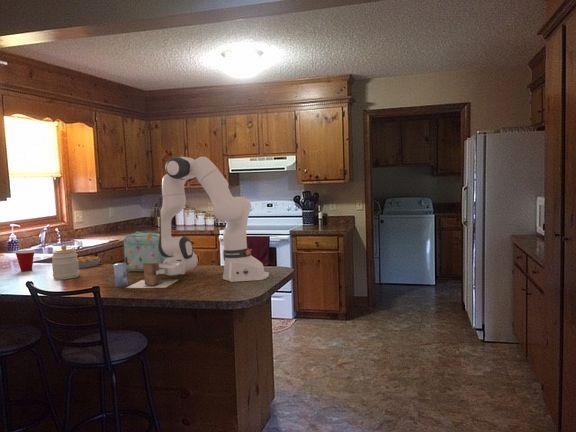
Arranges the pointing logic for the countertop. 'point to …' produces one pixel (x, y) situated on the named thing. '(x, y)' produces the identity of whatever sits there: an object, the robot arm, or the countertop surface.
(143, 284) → the letter board
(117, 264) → the canister
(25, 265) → the plastic cup
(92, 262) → the pie
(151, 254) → the lunch box
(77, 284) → the countertop surface
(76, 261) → the jar
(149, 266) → the walnut block
